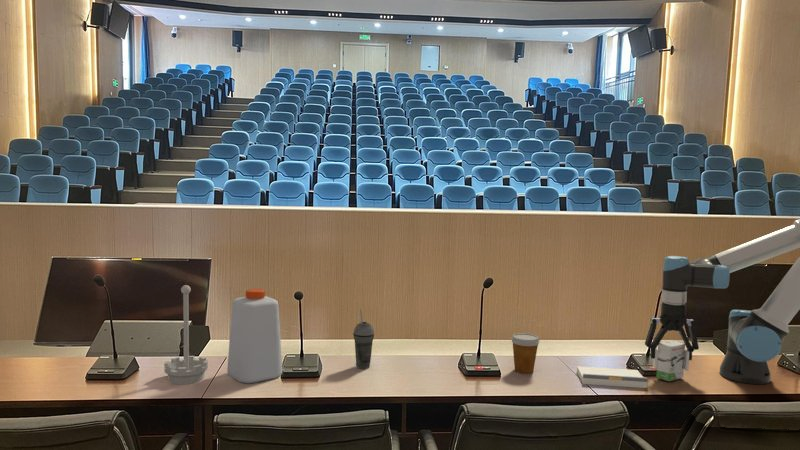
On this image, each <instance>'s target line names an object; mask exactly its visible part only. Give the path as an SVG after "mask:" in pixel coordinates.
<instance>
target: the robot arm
mask: <svg viewBox="0 0 800 450" xmlns="http://www.w3.org/2000/svg"><path fill="white" fill-rule="evenodd" d="M797 249H800V218H798V219H796V220H794V221H793V223H792V225H789V226H786V227H783V228H782V229H779V230H775V231H774V232H771V233H768V234H765V235H763V236H760V237H758V238H755V239H752V240H750V241H747V242H745V243H741V244H740V245H739V244H738V245H737V246H733V247H732V248H729V249H726V250H723V251H721V252H719V253H716V254H714V255H710V256H708V257H703V258H698V259H696V260H695V261H694V262H693V263H691V262H690V260H689V258H688V257H686V256H679V255H668V256H666V257H665V258H664V260H663V266H662V288H661V289H662V290H661V301H662V302H661V306H660V308H661V309H660V316H659V317H655V318H654V317H653V316H652V317H650V326H649V330H648V332H647V335H646V338H645V342H644V345H645V346H646V347H647V348H650V349H649V350H650V351H649V356H650V358H651V359H652V368H653V369H654V370H657V364H658V344H659V343H661V342H662V340H663V338H664V336H665V335H666V334H667V332H668V331H674V332H678V333H679V335H680V337H681V339H682V341H683V344H685V348H686V349H685V353H684V370H685V371H687V372H689V365H690V361H692V360H693V352H694V351H697V350H699V348H700V347H699V342H698V337H697V333H696V332H697V331H696V328H695V327H696V321H695V320H694V319H692V318H690V319H688V318H687V317H686V316H687V315H686V312H687V305H686V303H687V298H688V297H687V295H688V294H687V293H688V287H696V288H697V287H698V288H706V289H707V288H710V289H716V290H718V289H727V288H728V287H729V284H730V275H731V273H733V272H736V271H740V270H741V269H745V268H747V267H750V266H752V265H755V264H759V263H761V262H764V261H767V260H769V259H773V258H776V257H777V256H780V255H783V254H785V253H786V254H787V253H788V252H792V251H795V250H797ZM799 311H800V256H799V257H798V258H797V259H796V260H795V262H794V264H792V266H791V267H790V269H789V270H788V271H787V272H786V274H785V275H784V276H783V278H781V281H780V282H779V283H778V285H776V287H775V289H774V290H773V292H771V294H770V295H769V297H768V298H767V299H766V300H765V302H764V303H763V304H762V306H761V307H760V308H757V309H752V310H746V309H732V310H730V312H729V315H728V330H727V331H728V332H727V343H726V344H727V346H726V347H727V348H726V352H725V355H724V357H723V360H722V361H721V364H720V366H719V375H721V376H722V377H724V378H726V379H728V380H731V381H735V382H738V383H744V384H750V385H767V384H769V383H770V382H771V377H772V376H771V375H772V374H771V371H770V368H769V363H768V361H772V360H774V359H775V358H776V357H778V355H779V354H780V352H781V349H782V342H783V341H784V340H785V338H786V337H787V336H788V334H789V333H790V329H789V326H788V325H789V324H790V323H791V321H792V320H793V318H794V317H795V316H796V315H797V313H798V312H799ZM654 321H655V322H654ZM659 323H660V324H661V326H660V328H659V330H658V332H657V333H656V329H657V327H658V326H657V325H659ZM685 325H687V327H688V331H689V336H690V340H689V338H688V336H687V334H686V332H685V330H684V328H683V327H684V326H685ZM655 333H656V335H655ZM654 336H655V337H654ZM651 337H652V340H651Z"/></svg>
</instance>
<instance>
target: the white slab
mask: <svg viewBox="0 0 800 450" xmlns="http://www.w3.org/2000/svg"><path fill="white" fill-rule="evenodd" d="M576 373H577V376H578V377H579V379H580V381H581V383H582V384H583V385H594V386H607V387H611V386H612V387H623V388H627V387H628V388H637V389H638V388H639V389H648V380H649V378H648V377H645V376H643V375H642V373H640V371H639V370H638V369H628V368H627V369H626V368H624V369H623V368H610V367H609V368H608V367H597V366H596V367H595V366H594V367H592V366H579V365H578V366H576Z"/></svg>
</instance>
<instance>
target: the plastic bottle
mask: <svg viewBox="0 0 800 450" xmlns="http://www.w3.org/2000/svg"><path fill="white" fill-rule="evenodd" d="M231 302H232V303H231V312H230V313H231V315H230V327H229V328H230V329H229V342H228V356H227V357H228V358H227V375H229V376H230V377H232V378H234V379H235V380H236V381H238V382H239V383H243V384H255V383H259V382H263V381H268V380H272V379H276V378H279V377H280V376H281V375H282V374H283V357H282V344H281V343H282V342H281V341H282V340H281V327H280V309H279V302H278V299H277V300H276V299H274V298H272V297H269V296H267V295H266V291H265V289H262V288H250V289H247V290H246V291H245V296H242V297H237V298H234V299H233V300H232V301H231Z"/></svg>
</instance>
